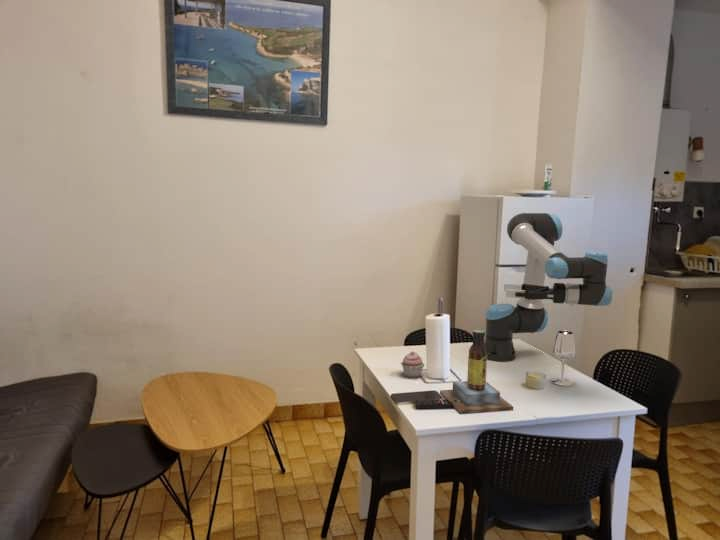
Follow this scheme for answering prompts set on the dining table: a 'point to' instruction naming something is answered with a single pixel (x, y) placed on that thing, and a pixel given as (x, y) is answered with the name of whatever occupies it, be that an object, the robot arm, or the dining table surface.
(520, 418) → the dining table surface
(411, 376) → the cupcake
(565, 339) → the wineglass
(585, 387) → the dining table surface
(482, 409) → the base
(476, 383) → the sauce bottle
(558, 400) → the dining table surface
